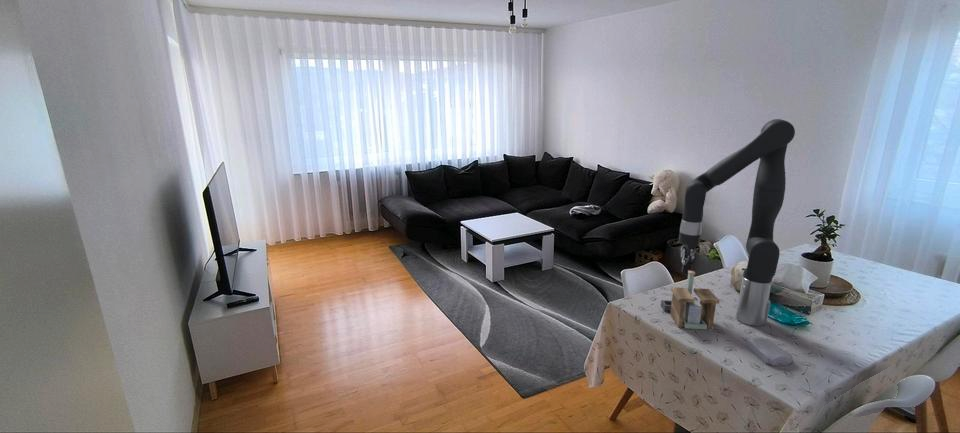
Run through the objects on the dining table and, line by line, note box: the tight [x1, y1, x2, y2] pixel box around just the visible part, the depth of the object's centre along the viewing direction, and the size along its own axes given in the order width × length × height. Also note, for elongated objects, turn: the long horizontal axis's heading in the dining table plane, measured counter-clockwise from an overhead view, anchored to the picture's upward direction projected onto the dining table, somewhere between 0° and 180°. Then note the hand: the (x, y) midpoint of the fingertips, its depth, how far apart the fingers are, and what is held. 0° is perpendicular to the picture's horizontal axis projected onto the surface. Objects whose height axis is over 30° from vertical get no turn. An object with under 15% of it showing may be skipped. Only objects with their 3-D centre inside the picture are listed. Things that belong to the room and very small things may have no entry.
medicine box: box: [684, 297, 702, 324], centre depth 165 cm, size 8×4×9 cm, turn 168°
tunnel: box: [669, 286, 720, 330], centre depth 164 cm, size 14×10×12 cm
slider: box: [682, 270, 708, 330], centre depth 163 cm, size 8×12×18 cm, turn 173°
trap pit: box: [660, 299, 700, 313], centre depth 175 cm, size 15×5×2 cm, turn 83°
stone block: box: [745, 336, 793, 367], centre depth 144 cm, size 12×5×10 cm
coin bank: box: [730, 260, 748, 292], centre depth 194 cm, size 16×17×13 cm
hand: (684, 273), depth 173 cm, fingers closed
